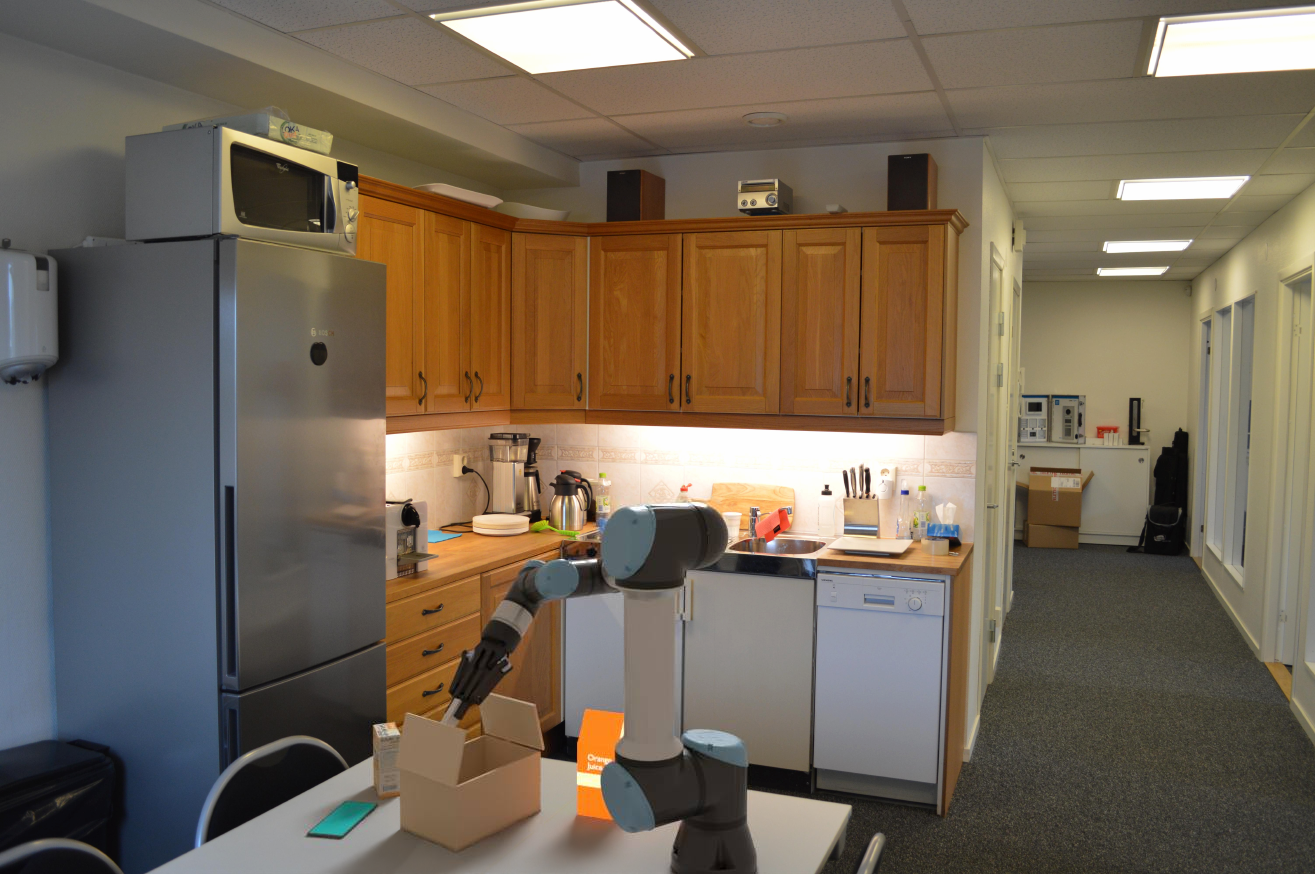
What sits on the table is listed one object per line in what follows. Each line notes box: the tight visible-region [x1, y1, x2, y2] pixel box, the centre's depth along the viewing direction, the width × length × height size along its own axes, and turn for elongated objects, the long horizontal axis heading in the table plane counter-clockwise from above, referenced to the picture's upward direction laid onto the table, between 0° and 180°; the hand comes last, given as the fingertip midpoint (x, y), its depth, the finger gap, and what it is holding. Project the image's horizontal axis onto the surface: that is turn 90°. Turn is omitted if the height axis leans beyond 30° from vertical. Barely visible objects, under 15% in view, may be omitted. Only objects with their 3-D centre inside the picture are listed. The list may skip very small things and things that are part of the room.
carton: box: [399, 734, 542, 853], centre depth 182 cm, size 16×22×12 cm
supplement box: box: [372, 721, 402, 800], centre depth 196 cm, size 8×5×13 cm, turn 25°
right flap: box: [478, 692, 546, 751], centre depth 190 cm, size 17×10×1 cm
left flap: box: [395, 712, 468, 787], centre depth 174 cm, size 17×10×1 cm
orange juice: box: [576, 709, 624, 821], centre depth 187 cm, size 8×9×20 cm
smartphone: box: [306, 800, 379, 840], centre depth 182 cm, size 7×1×15 cm
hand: (443, 732), depth 176 cm, fingers closed
